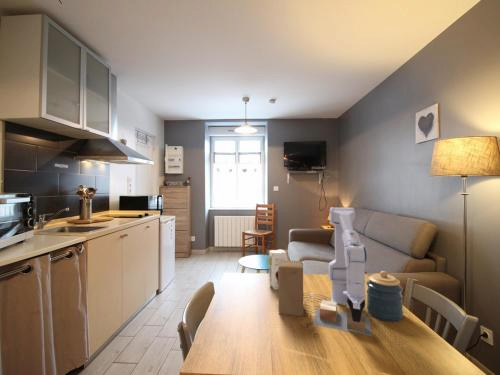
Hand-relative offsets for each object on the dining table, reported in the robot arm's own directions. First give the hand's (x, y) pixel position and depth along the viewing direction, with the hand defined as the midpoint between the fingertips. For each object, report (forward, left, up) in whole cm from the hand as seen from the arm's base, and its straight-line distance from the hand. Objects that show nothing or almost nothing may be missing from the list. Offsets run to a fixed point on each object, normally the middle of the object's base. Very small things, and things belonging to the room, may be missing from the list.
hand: (356, 320), depth 81 cm
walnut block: (-6, 0, -6) cm, 8 cm away
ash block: (-8, -10, -4) cm, 13 cm away
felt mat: (-10, -5, -6) cm, 13 cm away
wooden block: (-11, -25, -7) cm, 28 cm away
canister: (-22, +11, -7) cm, 26 cm away
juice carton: (-33, -37, -6) cm, 50 cm away
